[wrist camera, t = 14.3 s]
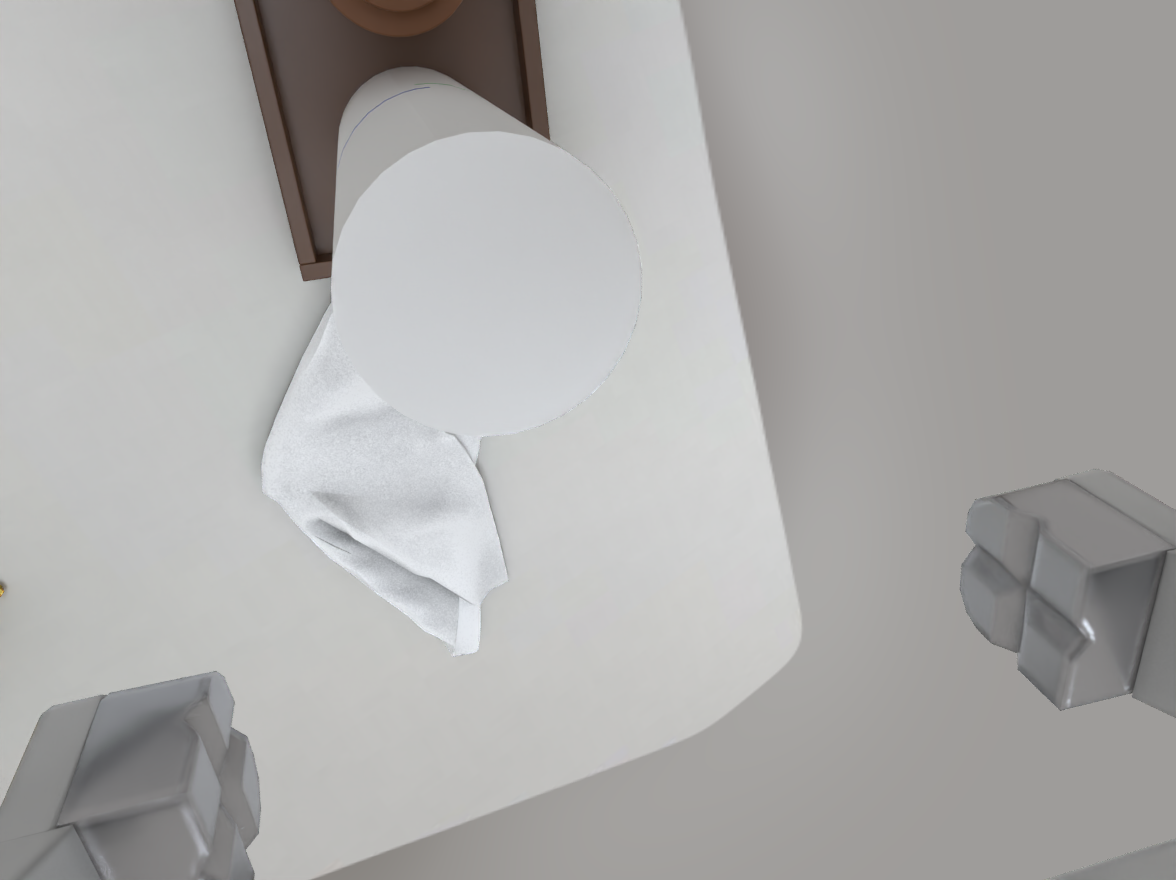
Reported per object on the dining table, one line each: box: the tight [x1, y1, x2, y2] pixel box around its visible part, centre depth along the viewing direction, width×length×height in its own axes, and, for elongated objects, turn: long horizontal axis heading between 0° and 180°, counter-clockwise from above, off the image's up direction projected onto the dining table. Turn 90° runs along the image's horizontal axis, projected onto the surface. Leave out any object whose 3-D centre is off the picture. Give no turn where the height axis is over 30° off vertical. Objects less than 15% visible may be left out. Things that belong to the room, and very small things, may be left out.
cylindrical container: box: [331, 66, 642, 437], centre depth 31 cm, size 7×7×25 cm
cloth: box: [261, 302, 509, 657], centre depth 48 cm, size 26×14×2 cm, turn 174°
